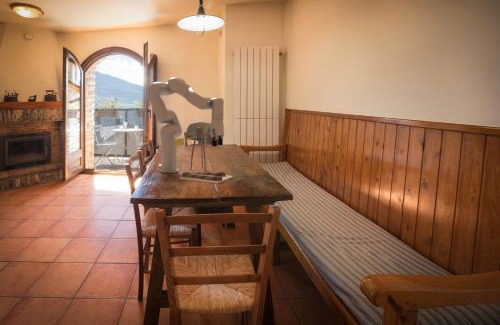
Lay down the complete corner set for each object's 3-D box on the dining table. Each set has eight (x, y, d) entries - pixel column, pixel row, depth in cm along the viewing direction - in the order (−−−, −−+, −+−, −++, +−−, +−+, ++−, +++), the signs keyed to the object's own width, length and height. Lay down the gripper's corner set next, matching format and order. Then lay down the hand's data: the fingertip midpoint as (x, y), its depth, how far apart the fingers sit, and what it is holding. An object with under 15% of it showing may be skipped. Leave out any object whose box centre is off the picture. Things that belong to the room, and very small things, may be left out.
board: (179, 179, 228) (179, 177, 228) (196, 173, 246) (196, 172, 246) (217, 183, 217) (217, 182, 217) (233, 177, 235) (233, 175, 235)
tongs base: (182, 176, 230) (182, 172, 229) (185, 175, 233) (185, 171, 232) (219, 181, 219) (219, 176, 219) (222, 180, 222) (222, 175, 221)
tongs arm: (190, 176, 232) (190, 172, 231) (190, 175, 235) (190, 171, 234) (225, 175, 234) (225, 172, 234) (225, 174, 237) (225, 171, 236)
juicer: (205, 171, 255) (205, 127, 250) (190, 170, 257) (190, 127, 252) (210, 168, 265) (210, 126, 260) (195, 167, 267) (194, 126, 262)
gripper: (219, 117, 244) (218, 143, 247) (205, 118, 228) (205, 146, 231) (229, 117, 241) (228, 144, 244) (215, 118, 225) (215, 147, 228)
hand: (217, 145), depth 238 cm, fingers open, 6 cm apart
